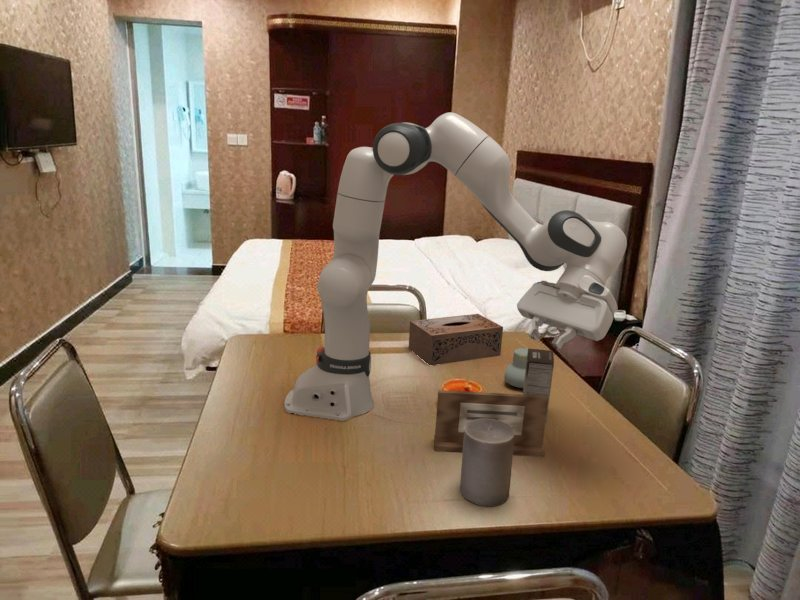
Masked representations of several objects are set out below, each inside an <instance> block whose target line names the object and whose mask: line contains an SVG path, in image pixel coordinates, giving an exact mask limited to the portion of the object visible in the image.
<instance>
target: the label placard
mask: <svg viewBox="0 0 800 600" xmlns="http://www.w3.org/2000/svg"><path fill="white" fill-rule="evenodd" d="M547 406H548V407H549V405H548V396H543V395H524V394H523V393H522V394H521V393H520V394H519V393H499V392H480V391H462V390H461V391H460V390H444V389H443V390H440V389H438V390H437V402H436V413H435V414H436V416H435V417H436V418H435V429H434V430H435V431H434V436H433V437H434V438H433V443H434V451H435V452H452V453H463V440H464V426H465V425H466V424H467V423H468V422H470V421H472V420H474V419H481V418H489V419H495V420H499V421H502V422H504V423H506V424H508V425H510V426H511V427H512V428H513V429H514V433H515V436H514V449H513V456H527V457H528V456H530V457H531V456H532V457H544V456H545V455H544V454H545V451H544V448H543V444H544V435H545V427H546V423H545V421H546V422H547V420H546V414H547V415H548V412H547Z"/></svg>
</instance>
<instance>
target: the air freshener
mask: <svg viewBox="0 0 800 600" xmlns="http://www.w3.org/2000/svg"><path fill="white" fill-rule="evenodd" d="M525 348H526V347H520V348H516V349H514V351H513V356H512V362H510V363H509V364H508V365H507V366H506V368H505V372H504V377H503V379H504V380H505V382H506V383H507V384H508V385H511V386H512V387H515V388H518V389H523V388H524V379H525V371H526V362H527V354H528V349H529V348H526V349H525Z"/></svg>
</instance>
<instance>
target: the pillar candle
mask: <svg viewBox="0 0 800 600" xmlns="http://www.w3.org/2000/svg"><path fill="white" fill-rule="evenodd" d="M514 436H515V433H514V429H513V428H512V427H511V426H510V425H508V424H506V423H504V422H502V421H499V420H495V419H489V418H481V419H474V420H472V421H470V422H468V423H467V424H466V425H465V426H464V440H463V452H461V453H462V457H461V468H460V470H461V471H460V480H459V481H460V484H459V491H460V494H461V496H462V497H463V498H464V499H466V500H468V501H470V502H471V503H473V504H475V505H478V506H481V507H495V506H499V505H502V504H503V503H505V502H507V500H508V499H509V497H510V490H511V489H510V488H511V479H512V469H513V468H512V467H513V458H514V455H513V449H514Z"/></svg>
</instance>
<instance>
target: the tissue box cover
mask: <svg viewBox="0 0 800 600" xmlns="http://www.w3.org/2000/svg"><path fill="white" fill-rule="evenodd" d="M408 331H409V335H408V336H409V337H408V350H409V349H410V350H411V351H413V352H414V353H415V354H416V355H418V356H419V357H420V358H421V359H423V360H424V361H425V362H426V363H425V362H424V361H423V360H422V361H423V362H424V363H425V364H427V363H428V364H429V365H433V366H438V365H437V364H440V365H445V364H451V363H452V364H453V363H459V362H466V361H473V360H479V359H481V360H482V359H486V358H493V357H500V356H501V354H502V353H501V352H502V344H503V343H502V342H503V341H502V340H503V332H504V326H502V325H501V324H498V323H497V322H494V321H493V320H491V319H490V318H487V317H485V316H483V315H482V314H479V313H472V314H461V315H455V316H445V317H434V318H426V319H425V318H424V319H417V320H410V321H409V330H408ZM410 350H409V351H410ZM411 351H410V352H411ZM414 353H413V354H414ZM415 354H414V355H415ZM416 355H415V356H416ZM418 356H417V357H418ZM419 357H418V358H419ZM420 358H419V359H420ZM421 359H420V360H421ZM428 364H427V365H428ZM429 365H428V366H429Z"/></svg>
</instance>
